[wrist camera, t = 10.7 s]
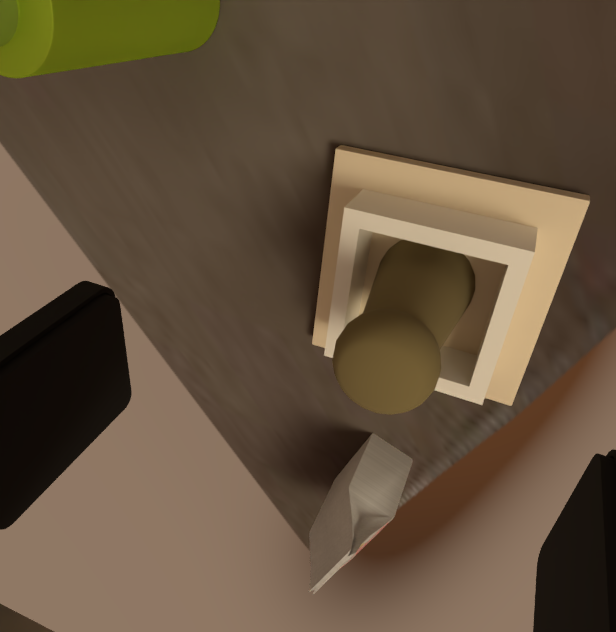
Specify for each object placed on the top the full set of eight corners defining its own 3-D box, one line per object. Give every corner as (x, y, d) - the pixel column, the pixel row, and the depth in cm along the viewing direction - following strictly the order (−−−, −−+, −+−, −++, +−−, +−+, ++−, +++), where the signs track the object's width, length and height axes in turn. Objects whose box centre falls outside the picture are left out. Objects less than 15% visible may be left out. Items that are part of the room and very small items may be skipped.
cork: (449, 339, 36) (410, 454, 27) (364, 298, 37) (299, 396, 28) (494, 262, 32) (466, 364, 23) (398, 218, 33) (338, 301, 24)
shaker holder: (341, 144, 33) (314, 163, 30) (589, 195, 29) (592, 223, 26) (317, 337, 41) (293, 370, 37) (512, 397, 37) (506, 440, 33)
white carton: (335, 478, 47) (287, 578, 39) (372, 432, 43) (328, 533, 35) (372, 503, 47) (331, 608, 39) (413, 459, 43) (377, 566, 35)
